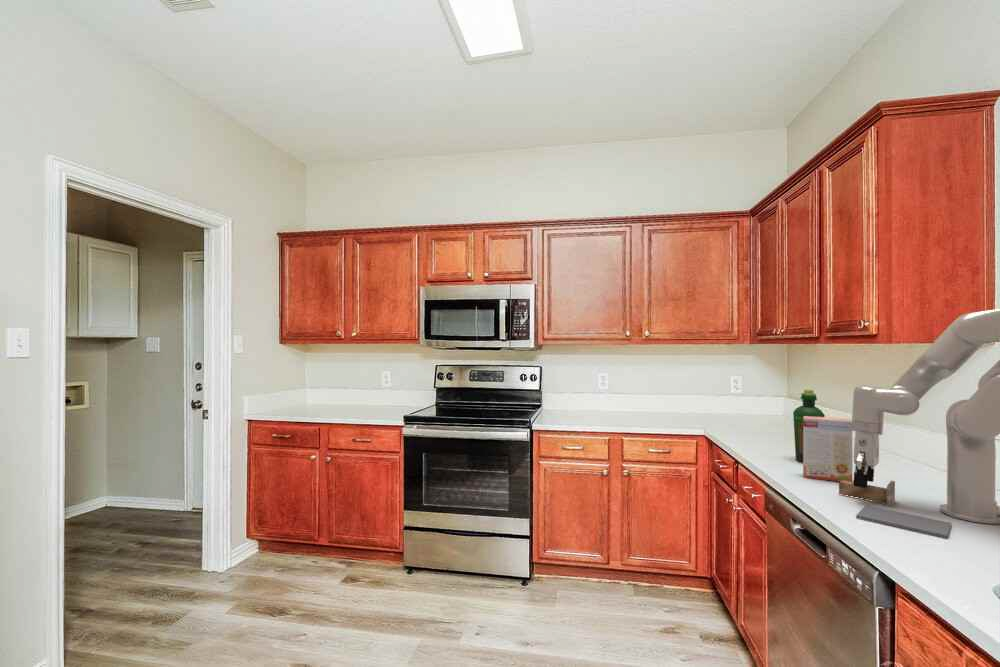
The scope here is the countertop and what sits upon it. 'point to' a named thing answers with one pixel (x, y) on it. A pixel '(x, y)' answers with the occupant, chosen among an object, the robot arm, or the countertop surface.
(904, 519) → the mat
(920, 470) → the countertop surface
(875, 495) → the tan boxy piece
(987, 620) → the countertop surface
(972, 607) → the countertop surface
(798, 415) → the bottle
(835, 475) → the cracker box
